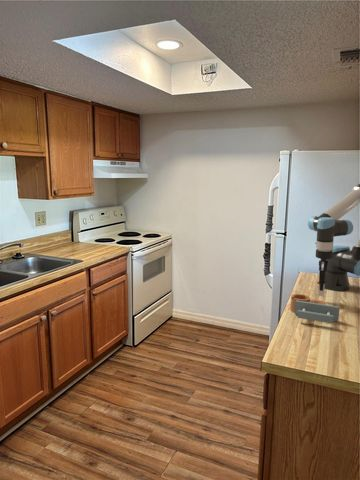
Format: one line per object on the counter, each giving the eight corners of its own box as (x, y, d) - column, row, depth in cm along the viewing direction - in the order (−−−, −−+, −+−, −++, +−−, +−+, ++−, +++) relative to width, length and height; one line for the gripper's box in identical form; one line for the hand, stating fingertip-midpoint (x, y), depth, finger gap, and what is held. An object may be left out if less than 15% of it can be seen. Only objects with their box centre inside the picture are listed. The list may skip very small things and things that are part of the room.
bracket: (298, 315, 162) (299, 301, 160) (286, 309, 169) (287, 295, 168) (329, 310, 169) (330, 296, 167) (316, 304, 176) (317, 290, 175)
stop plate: (295, 312, 163) (296, 300, 162) (338, 319, 156) (339, 306, 155) (292, 320, 155) (293, 307, 154) (337, 327, 148) (339, 314, 147)
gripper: (317, 246, 181) (314, 290, 186) (314, 251, 170) (311, 299, 174) (333, 247, 178) (329, 292, 183) (332, 253, 167) (328, 301, 171)
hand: (321, 295), depth 179 cm, fingers closed
